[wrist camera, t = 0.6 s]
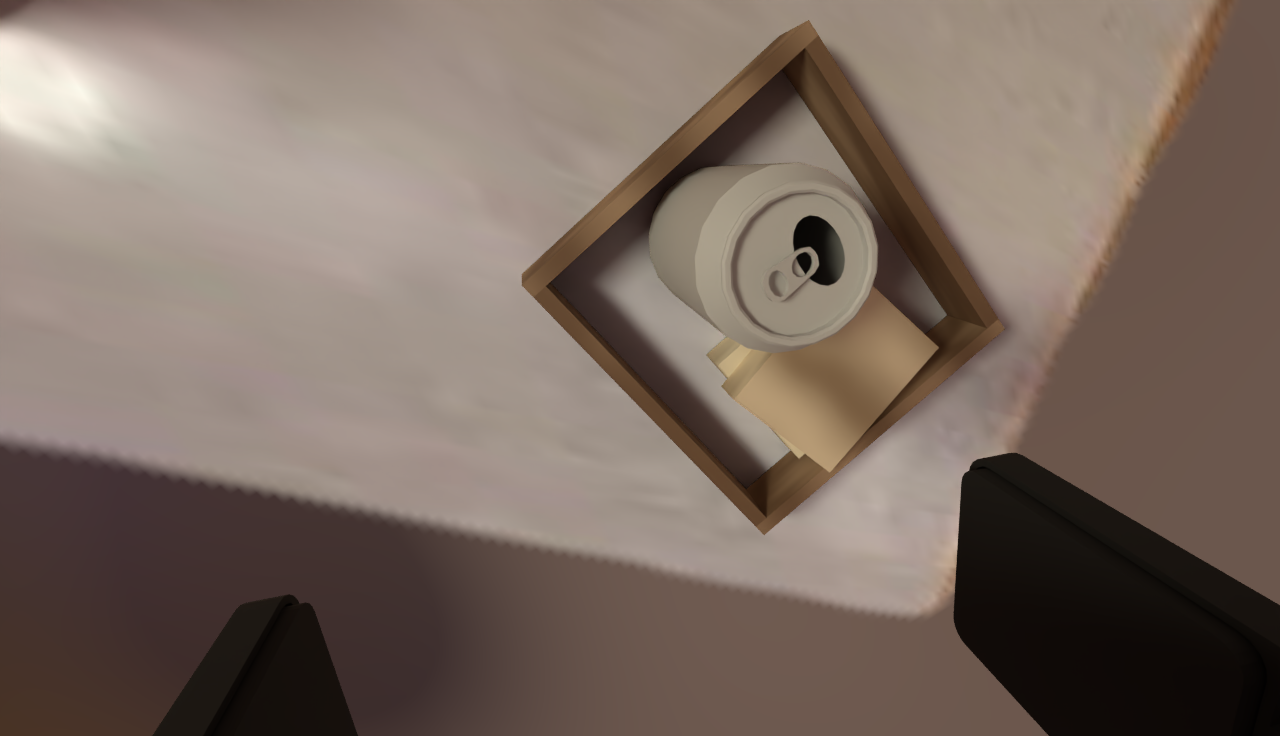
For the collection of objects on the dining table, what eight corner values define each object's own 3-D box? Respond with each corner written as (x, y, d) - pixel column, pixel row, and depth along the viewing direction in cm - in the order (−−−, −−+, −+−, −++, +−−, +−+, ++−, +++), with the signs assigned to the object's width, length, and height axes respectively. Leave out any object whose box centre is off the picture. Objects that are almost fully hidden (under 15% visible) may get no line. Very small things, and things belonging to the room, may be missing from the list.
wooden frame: (779, 36, 32) (808, 20, 28) (963, 315, 38) (1004, 329, 35) (521, 274, 33) (521, 285, 30) (744, 505, 40) (764, 534, 36)
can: (798, 257, 36) (926, 295, 24) (688, 329, 36) (765, 401, 24) (737, 137, 33) (848, 118, 22) (618, 215, 33) (668, 237, 22)
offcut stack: (827, 236, 35) (867, 245, 31) (906, 346, 38) (952, 367, 34) (693, 355, 36) (715, 379, 32) (781, 454, 39) (812, 487, 35)
